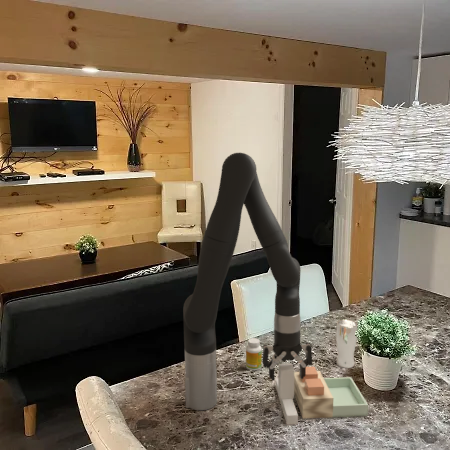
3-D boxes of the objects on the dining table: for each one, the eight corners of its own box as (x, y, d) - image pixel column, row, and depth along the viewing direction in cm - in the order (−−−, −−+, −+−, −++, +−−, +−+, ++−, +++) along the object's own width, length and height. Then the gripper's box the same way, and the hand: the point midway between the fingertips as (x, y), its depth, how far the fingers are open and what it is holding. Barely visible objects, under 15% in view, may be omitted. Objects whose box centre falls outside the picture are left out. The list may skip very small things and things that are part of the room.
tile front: (308, 395, 129) (308, 387, 128) (304, 386, 133) (304, 379, 132) (323, 394, 129) (324, 386, 128) (319, 386, 133) (320, 378, 133)
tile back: (302, 382, 135) (302, 374, 135) (299, 374, 140) (299, 367, 139) (317, 381, 136) (318, 374, 135) (314, 374, 140) (314, 366, 140)
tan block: (302, 418, 128) (303, 399, 127) (292, 389, 143) (292, 371, 141) (332, 417, 128) (333, 398, 127) (319, 388, 143) (319, 370, 142)
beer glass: (357, 361, 160) (359, 321, 157) (353, 370, 154) (355, 328, 151) (337, 357, 163) (338, 318, 160) (333, 366, 157) (334, 325, 154)
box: (332, 417, 128) (333, 406, 128) (319, 388, 143) (319, 378, 142) (367, 416, 129) (368, 404, 128) (350, 387, 143) (351, 377, 143)
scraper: (285, 425, 125) (285, 385, 123) (273, 386, 145) (274, 351, 143) (299, 424, 125) (300, 385, 123) (286, 385, 145) (286, 351, 143)
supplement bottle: (260, 371, 154) (260, 344, 152) (244, 369, 155) (244, 343, 153) (262, 363, 159) (262, 337, 157) (247, 362, 160) (247, 336, 158)
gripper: (308, 320, 135) (308, 370, 138) (260, 322, 134) (261, 373, 137) (315, 331, 127) (314, 383, 130) (264, 333, 127) (264, 386, 130)
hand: (287, 378), depth 134 cm, fingers open, 8 cm apart
